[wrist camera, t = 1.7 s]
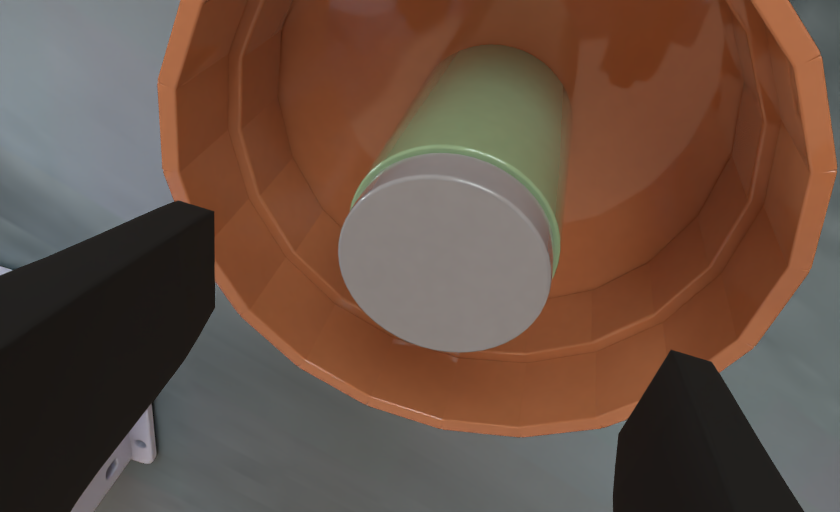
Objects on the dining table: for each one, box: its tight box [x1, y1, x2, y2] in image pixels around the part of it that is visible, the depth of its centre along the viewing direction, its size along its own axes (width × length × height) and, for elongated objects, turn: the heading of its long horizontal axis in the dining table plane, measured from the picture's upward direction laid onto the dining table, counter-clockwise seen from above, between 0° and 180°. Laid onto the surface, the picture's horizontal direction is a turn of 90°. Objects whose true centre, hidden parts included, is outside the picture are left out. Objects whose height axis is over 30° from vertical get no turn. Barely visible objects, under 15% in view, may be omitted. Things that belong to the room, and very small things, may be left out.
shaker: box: [338, 44, 573, 353], centre depth 14 cm, size 4×4×6 cm
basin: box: [157, 0, 837, 437], centre depth 15 cm, size 13×13×5 cm
